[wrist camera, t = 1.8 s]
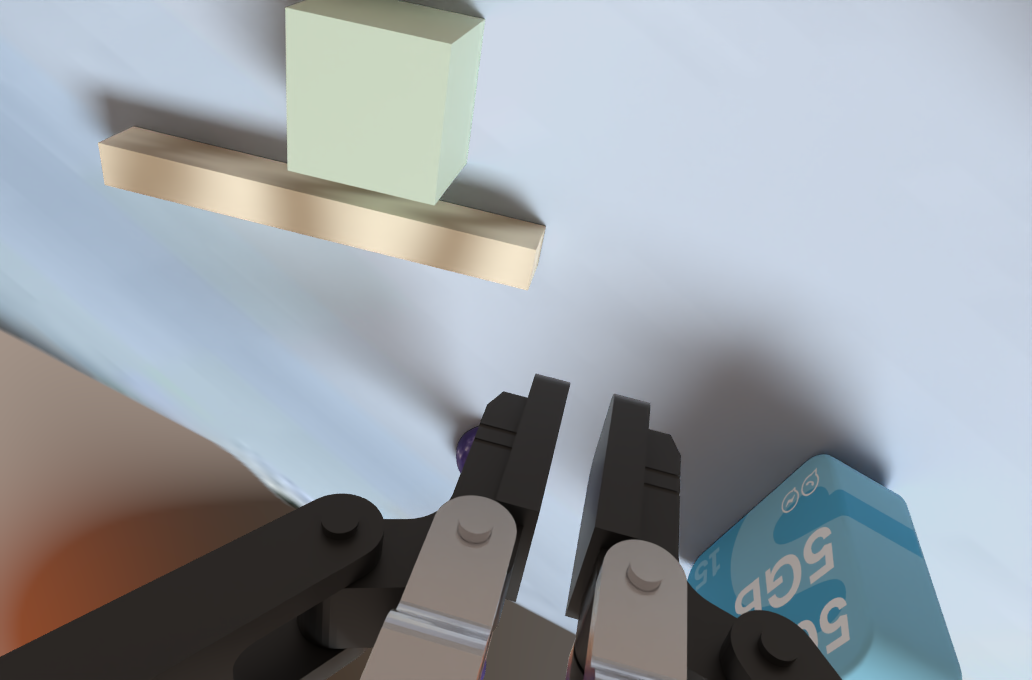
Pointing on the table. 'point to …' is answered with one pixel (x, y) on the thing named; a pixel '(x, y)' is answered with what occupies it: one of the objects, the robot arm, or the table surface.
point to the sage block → (380, 94)
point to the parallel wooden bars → (322, 206)
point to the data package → (836, 574)
